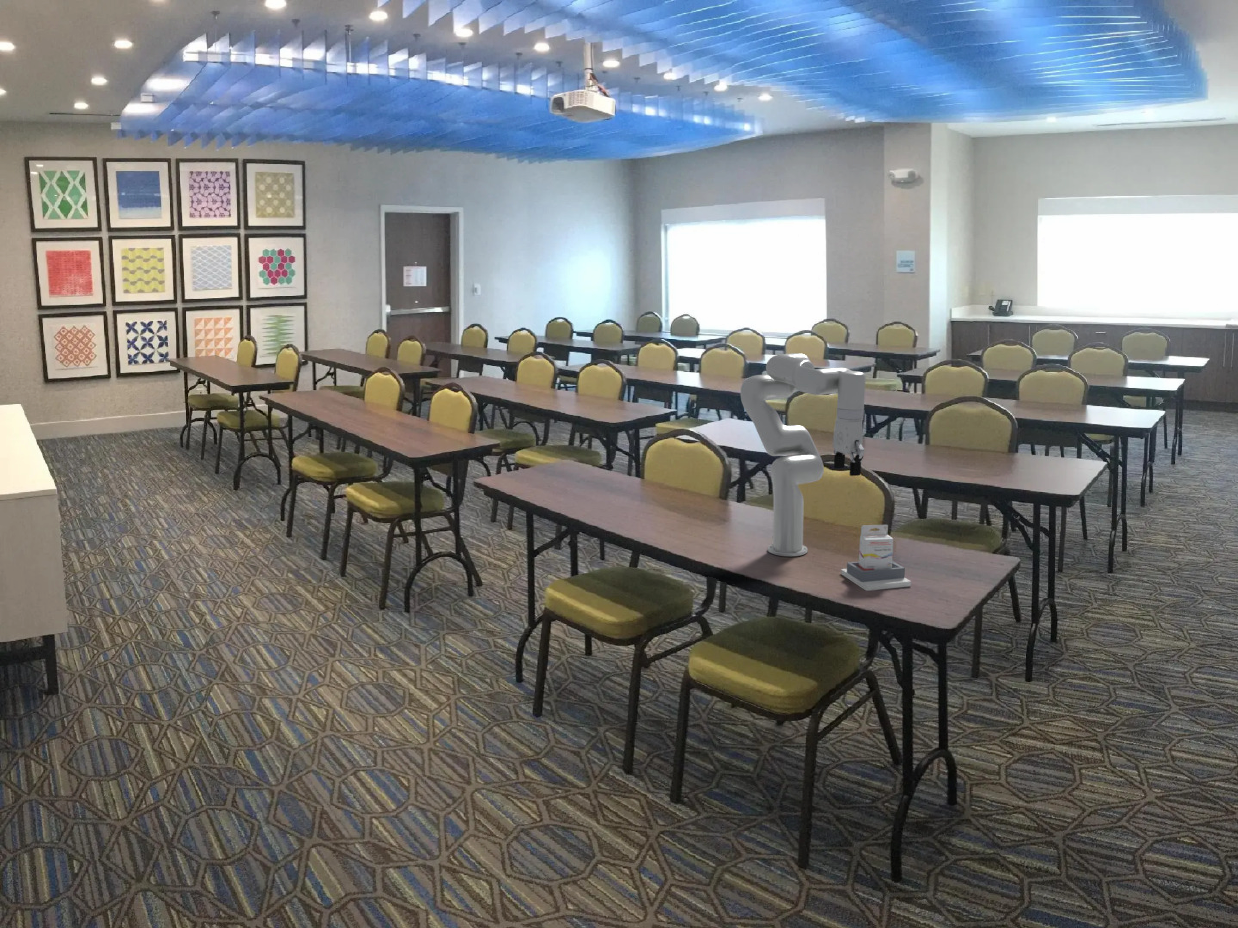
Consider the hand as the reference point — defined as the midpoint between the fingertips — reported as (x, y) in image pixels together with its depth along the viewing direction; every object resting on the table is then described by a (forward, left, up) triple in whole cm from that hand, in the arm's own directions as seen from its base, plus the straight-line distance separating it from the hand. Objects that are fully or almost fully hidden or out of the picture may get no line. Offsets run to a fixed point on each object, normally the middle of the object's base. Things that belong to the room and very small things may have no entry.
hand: (846, 471), depth 281 cm
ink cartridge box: (+8, +6, -30) cm, 32 cm away
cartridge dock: (+8, +6, -31) cm, 33 cm away
